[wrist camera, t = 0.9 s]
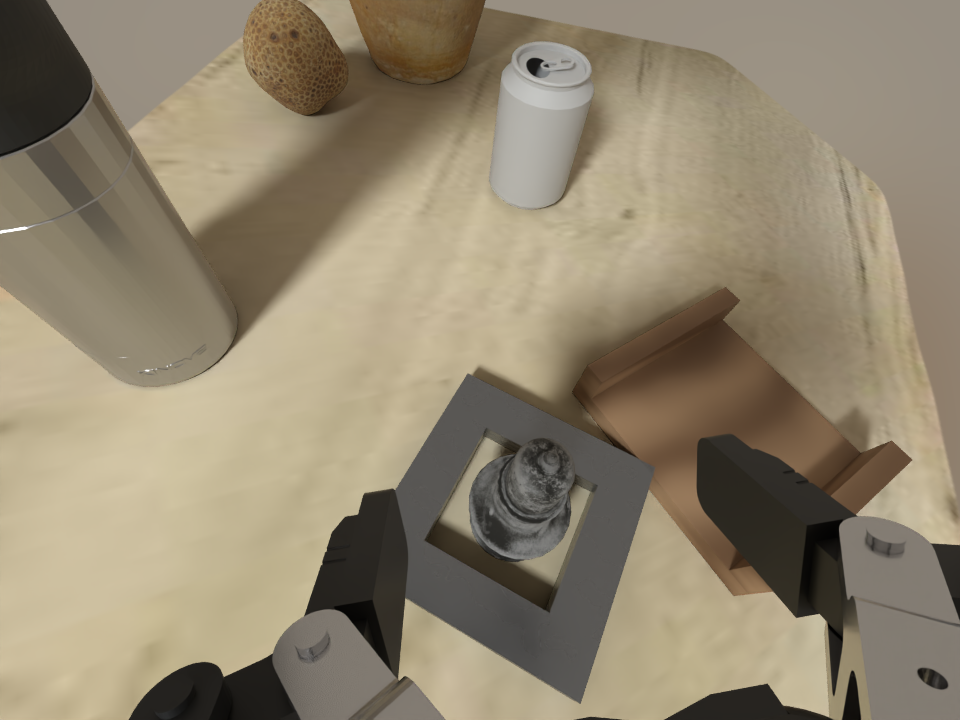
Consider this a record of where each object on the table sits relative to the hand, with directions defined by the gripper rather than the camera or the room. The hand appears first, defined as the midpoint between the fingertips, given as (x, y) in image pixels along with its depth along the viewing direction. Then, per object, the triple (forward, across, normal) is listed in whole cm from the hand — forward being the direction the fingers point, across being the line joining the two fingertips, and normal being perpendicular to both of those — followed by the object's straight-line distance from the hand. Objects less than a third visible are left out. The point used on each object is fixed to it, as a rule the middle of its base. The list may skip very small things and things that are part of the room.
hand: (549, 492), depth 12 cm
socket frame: (+14, 0, +12) cm, 18 cm away
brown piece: (+18, -16, +11) cm, 26 cm away
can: (+38, -7, -8) cm, 39 cm away
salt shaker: (+14, 0, +12) cm, 19 cm away
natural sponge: (+46, +14, -19) cm, 52 cm away
